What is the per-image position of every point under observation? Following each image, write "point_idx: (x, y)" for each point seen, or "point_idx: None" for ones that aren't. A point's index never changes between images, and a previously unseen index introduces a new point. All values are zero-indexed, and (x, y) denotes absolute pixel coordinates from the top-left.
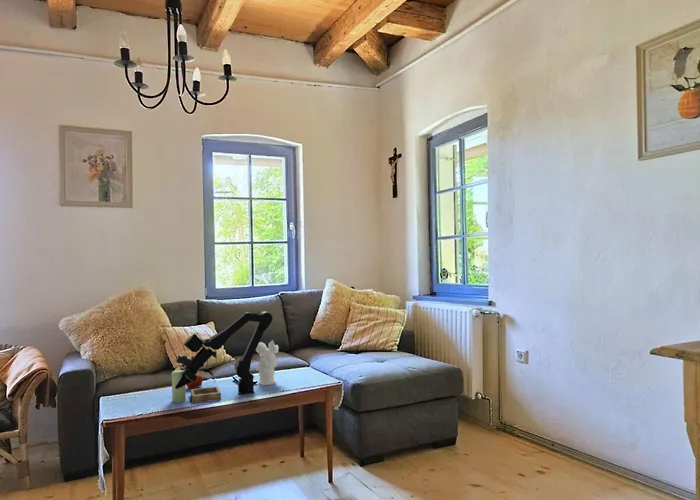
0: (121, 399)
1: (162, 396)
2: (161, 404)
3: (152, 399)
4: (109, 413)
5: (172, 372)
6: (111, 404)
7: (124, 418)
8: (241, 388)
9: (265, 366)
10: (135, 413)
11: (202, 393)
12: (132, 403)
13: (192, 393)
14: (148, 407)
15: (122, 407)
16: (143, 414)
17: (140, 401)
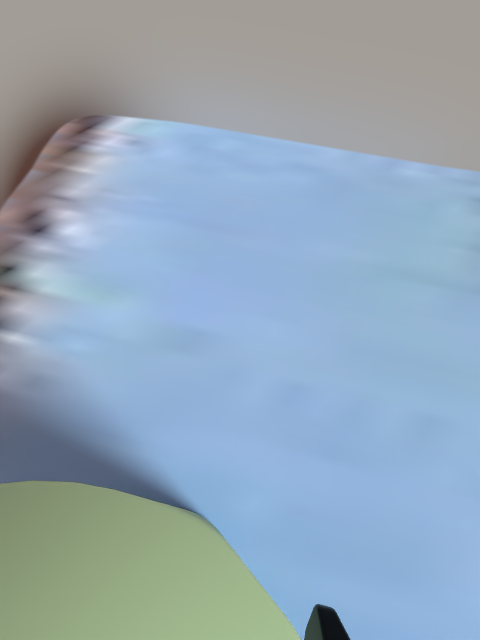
0: (463, 225)
1: (434, 471)
2: (166, 392)
3: (370, 371)
4: (204, 138)
5: (51, 516)
6: (375, 174)
7: (46, 158)
8: None
9: None
10: (89, 211)
11: None
12: (334, 247)
13: None
14: (160, 295)
15: (277, 194)
16: (20, 235)
17: (358, 292)
